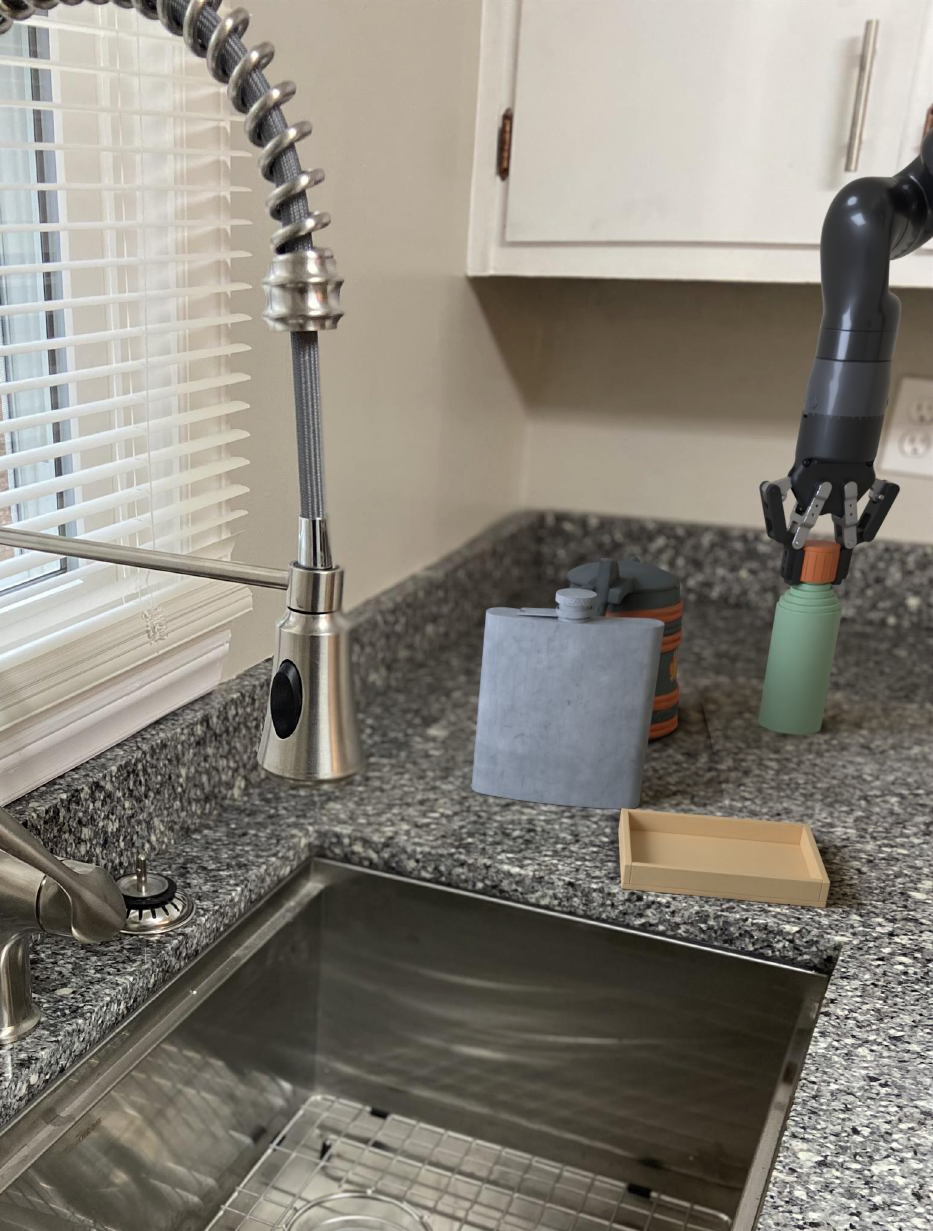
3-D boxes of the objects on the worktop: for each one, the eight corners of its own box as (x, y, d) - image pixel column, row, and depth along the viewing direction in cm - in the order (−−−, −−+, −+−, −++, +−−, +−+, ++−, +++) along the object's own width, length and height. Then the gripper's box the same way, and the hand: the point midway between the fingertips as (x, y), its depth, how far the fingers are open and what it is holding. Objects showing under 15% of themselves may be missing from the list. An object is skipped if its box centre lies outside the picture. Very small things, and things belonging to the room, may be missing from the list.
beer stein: (662, 768, 143) (691, 570, 134) (518, 748, 147) (537, 556, 138) (683, 711, 159) (711, 531, 149) (553, 695, 163) (572, 519, 154)
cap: (786, 574, 146) (791, 540, 144) (822, 573, 146) (828, 539, 145) (804, 584, 142) (810, 549, 141) (842, 582, 143) (848, 547, 141)
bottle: (814, 725, 154) (847, 544, 145) (823, 745, 149) (857, 558, 140) (753, 721, 155) (781, 542, 146) (759, 742, 150) (789, 556, 141)
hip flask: (639, 798, 135) (668, 591, 126) (638, 814, 132) (668, 603, 123) (473, 781, 139) (490, 579, 130) (468, 796, 136) (485, 589, 127)
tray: (804, 847, 126) (809, 823, 125) (825, 908, 115) (830, 882, 114) (618, 831, 128) (621, 808, 127) (621, 888, 118) (624, 863, 117)
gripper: (897, 402, 141) (862, 574, 148) (757, 403, 140) (730, 575, 148) (934, 413, 134) (895, 592, 142) (788, 413, 133) (757, 594, 141)
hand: (811, 582), depth 145 cm, fingers closed on cap, 4 cm apart
